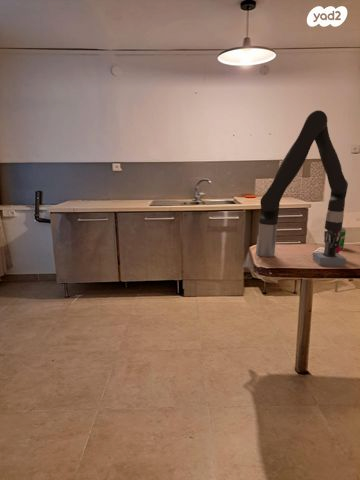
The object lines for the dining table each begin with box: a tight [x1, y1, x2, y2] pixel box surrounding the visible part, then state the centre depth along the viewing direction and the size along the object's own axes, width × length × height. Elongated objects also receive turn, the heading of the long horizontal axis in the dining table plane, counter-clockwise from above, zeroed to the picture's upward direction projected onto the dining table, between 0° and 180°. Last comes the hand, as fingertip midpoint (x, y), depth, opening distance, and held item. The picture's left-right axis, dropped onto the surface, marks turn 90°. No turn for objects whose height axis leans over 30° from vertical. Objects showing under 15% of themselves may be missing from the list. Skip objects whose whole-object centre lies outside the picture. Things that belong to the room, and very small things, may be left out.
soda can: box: [339, 226, 347, 250], centre depth 183 cm, size 8×8×12 cm
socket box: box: [312, 251, 347, 267], centre depth 156 cm, size 12×9×4 cm
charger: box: [323, 241, 336, 257], centre depth 155 cm, size 4×4×12 cm
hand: (329, 253), depth 155 cm, fingers open, 4 cm apart
